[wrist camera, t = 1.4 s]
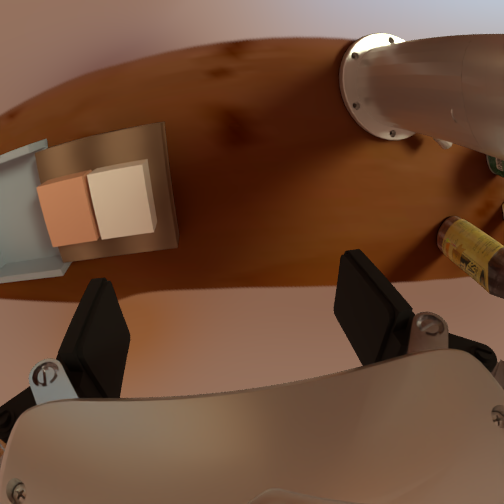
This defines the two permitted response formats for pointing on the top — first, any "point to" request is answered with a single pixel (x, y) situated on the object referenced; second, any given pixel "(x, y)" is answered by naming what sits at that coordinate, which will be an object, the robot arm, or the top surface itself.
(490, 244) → the sauce bottle
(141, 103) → the top surface
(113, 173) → the cream tile
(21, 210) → the tray
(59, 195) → the terracotta tile
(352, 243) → the top surface
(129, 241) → the walnut board
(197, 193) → the top surface
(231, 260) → the top surface
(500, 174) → the canned tomato
